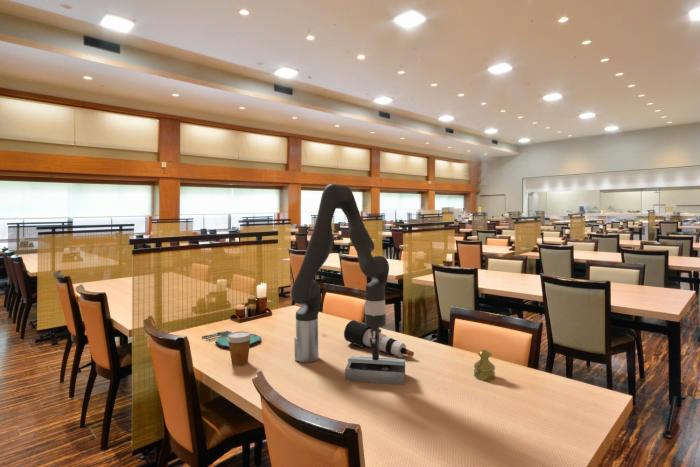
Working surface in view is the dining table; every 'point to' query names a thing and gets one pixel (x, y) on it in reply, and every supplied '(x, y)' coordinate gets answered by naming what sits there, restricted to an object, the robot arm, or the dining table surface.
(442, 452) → the dining table surface
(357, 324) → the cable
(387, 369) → the dark grey tape roll
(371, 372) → the grey rectangular box
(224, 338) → the cutlery set
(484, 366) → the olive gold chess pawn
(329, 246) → the robot arm
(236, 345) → the disposable coffee cup
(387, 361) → the cover
